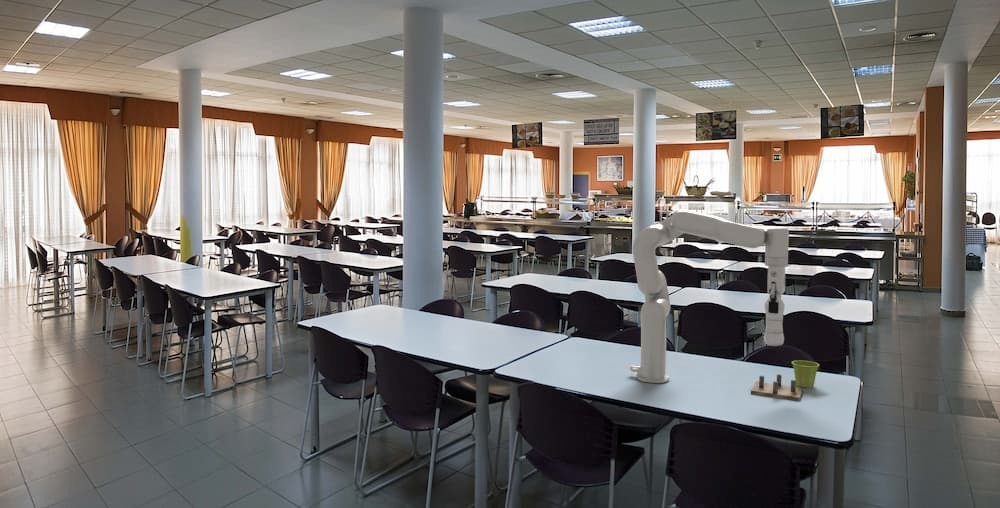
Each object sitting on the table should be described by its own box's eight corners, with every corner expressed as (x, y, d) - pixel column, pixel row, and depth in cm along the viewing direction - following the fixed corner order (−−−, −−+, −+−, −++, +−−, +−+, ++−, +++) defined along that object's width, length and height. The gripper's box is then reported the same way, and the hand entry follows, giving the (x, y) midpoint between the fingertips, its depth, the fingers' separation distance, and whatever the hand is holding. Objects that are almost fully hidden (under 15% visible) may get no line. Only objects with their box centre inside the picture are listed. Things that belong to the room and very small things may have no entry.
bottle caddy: (750, 393, 228) (751, 379, 228) (756, 384, 239) (756, 371, 239) (799, 400, 220) (800, 386, 220) (802, 391, 231) (803, 377, 231)
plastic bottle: (785, 348, 224) (787, 292, 222) (765, 347, 225) (767, 291, 224) (781, 344, 230) (783, 289, 229) (761, 343, 232) (763, 289, 230)
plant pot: (785, 383, 241) (786, 361, 240) (804, 381, 244) (805, 359, 243) (804, 390, 232) (805, 367, 231) (824, 388, 235) (825, 365, 234)
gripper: (784, 264, 216) (783, 316, 218) (790, 260, 231) (788, 308, 232) (761, 263, 220) (759, 314, 221) (768, 259, 235) (767, 307, 236)
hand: (774, 311), depth 227 cm, fingers closed on plastic bottle, 6 cm apart
